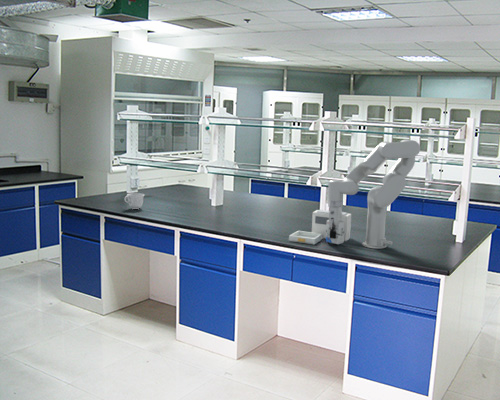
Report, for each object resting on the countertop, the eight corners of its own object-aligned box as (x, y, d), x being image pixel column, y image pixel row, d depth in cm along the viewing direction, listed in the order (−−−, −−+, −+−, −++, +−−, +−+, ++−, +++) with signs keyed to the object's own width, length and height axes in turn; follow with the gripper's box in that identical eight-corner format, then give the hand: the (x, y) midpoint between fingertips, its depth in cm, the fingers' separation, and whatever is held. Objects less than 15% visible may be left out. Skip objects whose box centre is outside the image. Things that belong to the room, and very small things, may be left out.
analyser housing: (350, 238, 293) (351, 212, 291) (345, 241, 285) (347, 215, 283) (316, 233, 302) (317, 208, 299) (311, 236, 294) (312, 211, 292)
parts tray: (322, 239, 289) (322, 233, 289) (314, 244, 277) (314, 239, 277) (297, 235, 296) (298, 230, 295) (288, 241, 283) (288, 235, 283)
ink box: (325, 241, 278) (325, 220, 276) (330, 239, 282) (331, 218, 280) (338, 244, 272) (339, 222, 270) (344, 242, 276) (344, 221, 274)
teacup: (119, 209, 358) (119, 194, 356) (137, 206, 368) (137, 192, 367) (130, 211, 350) (129, 197, 348) (148, 209, 360) (148, 194, 359)
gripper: (337, 207, 264) (336, 241, 267) (347, 201, 279) (346, 234, 283) (323, 205, 267) (322, 239, 271) (333, 200, 283) (332, 232, 286)
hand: (334, 236), depth 277 cm, fingers closed on ink box, 6 cm apart
